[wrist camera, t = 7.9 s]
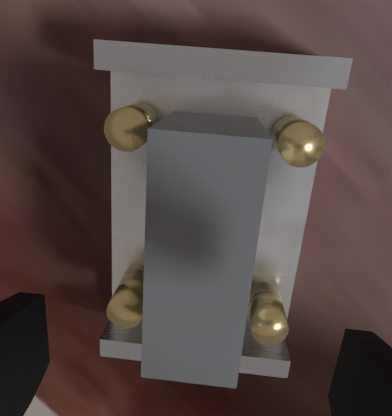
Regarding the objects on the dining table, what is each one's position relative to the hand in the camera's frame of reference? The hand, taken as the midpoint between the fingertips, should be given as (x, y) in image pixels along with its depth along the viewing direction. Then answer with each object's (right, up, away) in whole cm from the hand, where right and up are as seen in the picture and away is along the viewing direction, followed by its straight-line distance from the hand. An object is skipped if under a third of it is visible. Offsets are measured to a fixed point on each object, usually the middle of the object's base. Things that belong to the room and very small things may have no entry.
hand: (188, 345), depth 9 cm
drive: (+1, +3, +8) cm, 9 cm away
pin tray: (+1, +3, +9) cm, 10 cm away
